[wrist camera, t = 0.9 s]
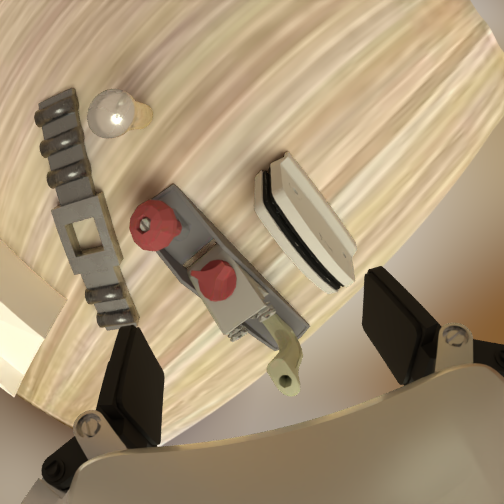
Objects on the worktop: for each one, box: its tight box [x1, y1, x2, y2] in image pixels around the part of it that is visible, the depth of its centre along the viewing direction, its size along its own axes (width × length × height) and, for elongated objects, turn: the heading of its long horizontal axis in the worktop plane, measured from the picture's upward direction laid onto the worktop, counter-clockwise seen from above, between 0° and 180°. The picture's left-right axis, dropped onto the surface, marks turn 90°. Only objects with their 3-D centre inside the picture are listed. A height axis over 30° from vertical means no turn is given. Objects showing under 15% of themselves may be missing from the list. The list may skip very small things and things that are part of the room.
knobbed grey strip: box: [34, 88, 140, 330], centre depth 30 cm, size 32×7×3 cm, turn 8°
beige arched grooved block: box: [254, 152, 357, 294], centre depth 33 cm, size 17×5×10 cm, turn 40°
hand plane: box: [129, 184, 310, 396], centre depth 32 cm, size 7×31×15 cm, turn 39°
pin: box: [87, 89, 153, 138], centre depth 23 cm, size 4×4×11 cm
